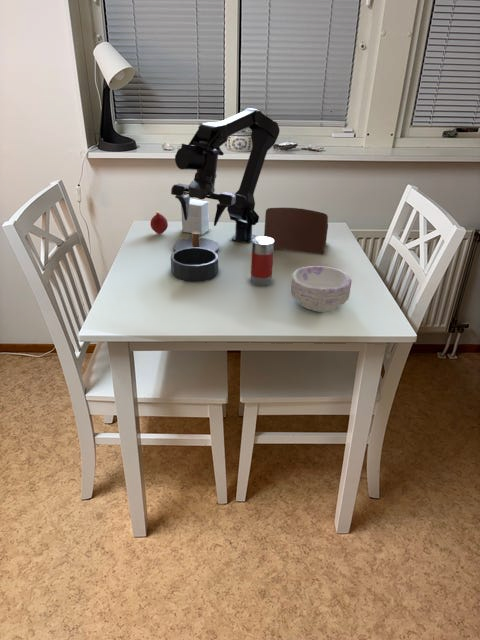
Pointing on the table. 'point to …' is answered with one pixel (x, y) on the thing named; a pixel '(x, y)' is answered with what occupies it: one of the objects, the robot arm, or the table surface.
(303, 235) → the letter holder
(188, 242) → the lid
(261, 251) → the cylinder
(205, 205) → the small box
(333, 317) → the table surface
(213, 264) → the pot
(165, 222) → the onion
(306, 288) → the paper bowls
